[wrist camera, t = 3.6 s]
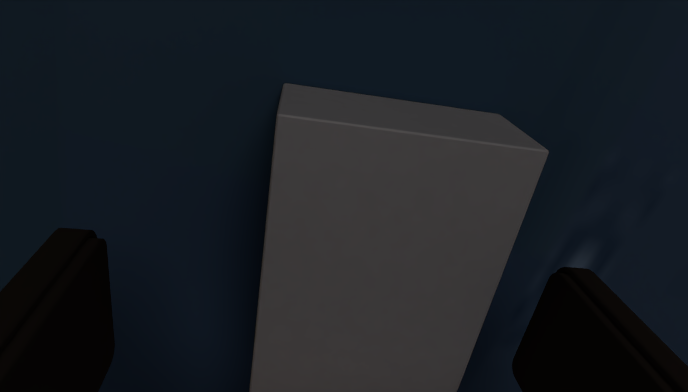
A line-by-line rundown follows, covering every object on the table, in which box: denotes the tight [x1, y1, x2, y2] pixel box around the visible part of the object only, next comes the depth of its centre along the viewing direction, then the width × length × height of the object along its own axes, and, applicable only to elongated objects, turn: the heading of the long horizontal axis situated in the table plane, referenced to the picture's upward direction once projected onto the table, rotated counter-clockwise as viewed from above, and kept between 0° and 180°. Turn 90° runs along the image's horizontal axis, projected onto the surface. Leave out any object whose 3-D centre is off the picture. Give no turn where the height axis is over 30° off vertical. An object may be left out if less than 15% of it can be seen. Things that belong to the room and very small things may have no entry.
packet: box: [249, 83, 549, 392], centre depth 11 cm, size 5×8×2 cm, turn 171°
